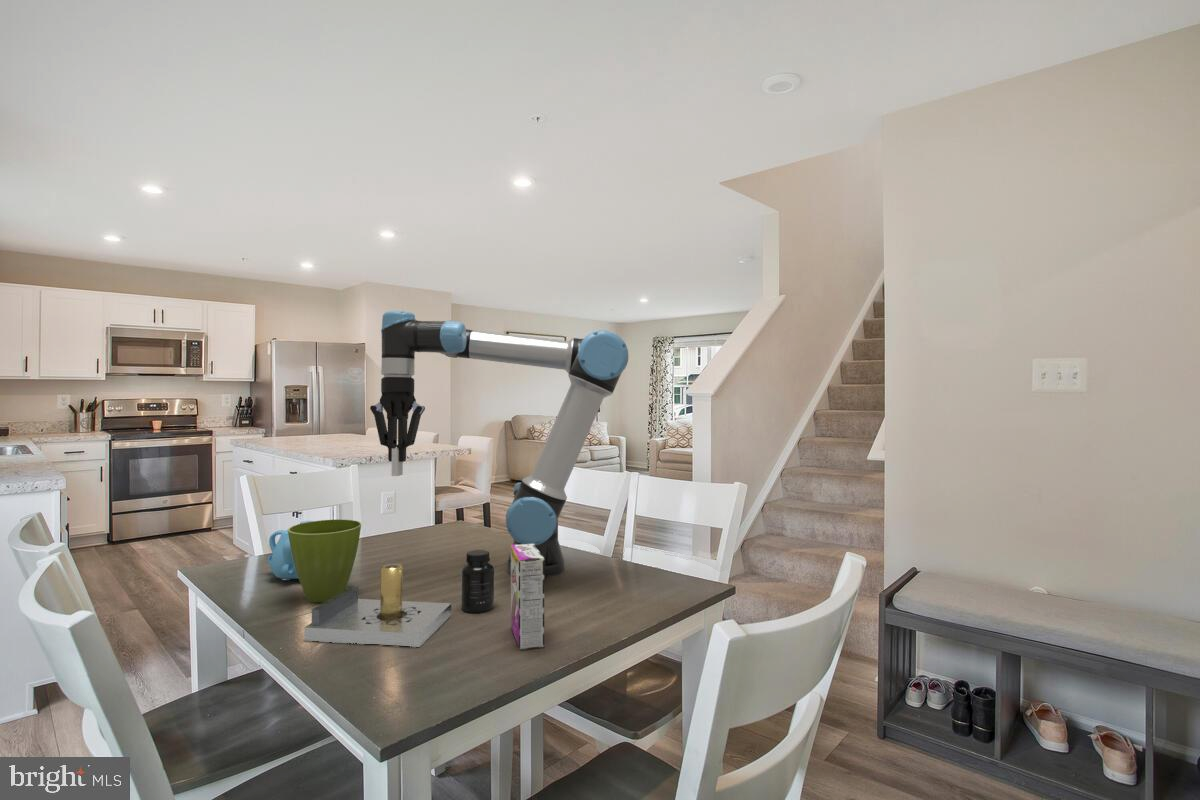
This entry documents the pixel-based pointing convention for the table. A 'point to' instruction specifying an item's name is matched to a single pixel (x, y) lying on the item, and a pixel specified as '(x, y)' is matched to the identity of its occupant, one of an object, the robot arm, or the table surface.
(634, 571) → the table surface
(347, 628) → the plate
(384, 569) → the cylinder
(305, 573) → the flower pot
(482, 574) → the supplement bottle
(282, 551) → the decorative pot
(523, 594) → the candy bar box
